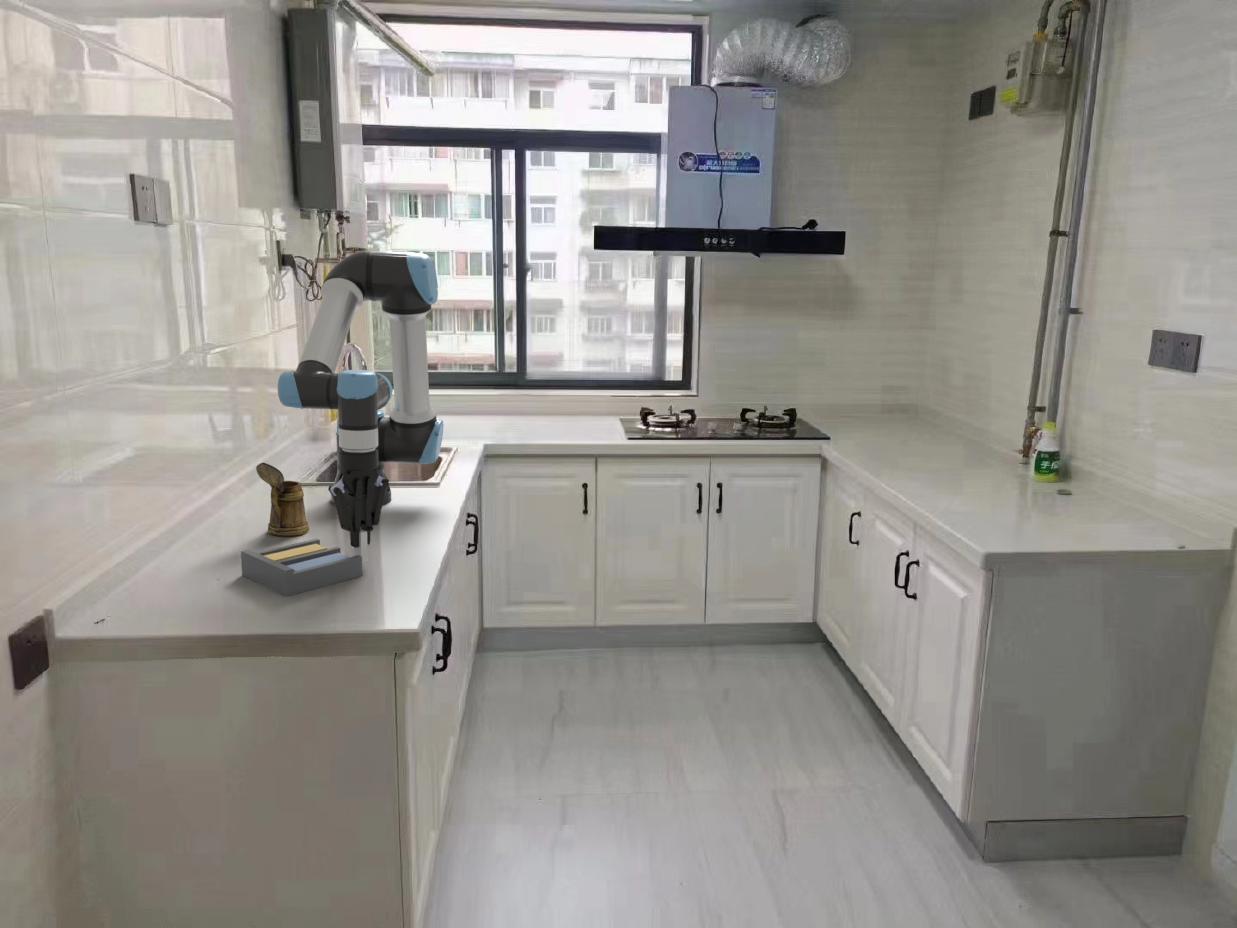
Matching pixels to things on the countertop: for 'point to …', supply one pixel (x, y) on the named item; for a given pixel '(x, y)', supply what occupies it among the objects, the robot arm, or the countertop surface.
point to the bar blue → (317, 561)
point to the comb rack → (299, 581)
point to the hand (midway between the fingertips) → (360, 560)
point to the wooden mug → (284, 503)
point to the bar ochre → (295, 552)
